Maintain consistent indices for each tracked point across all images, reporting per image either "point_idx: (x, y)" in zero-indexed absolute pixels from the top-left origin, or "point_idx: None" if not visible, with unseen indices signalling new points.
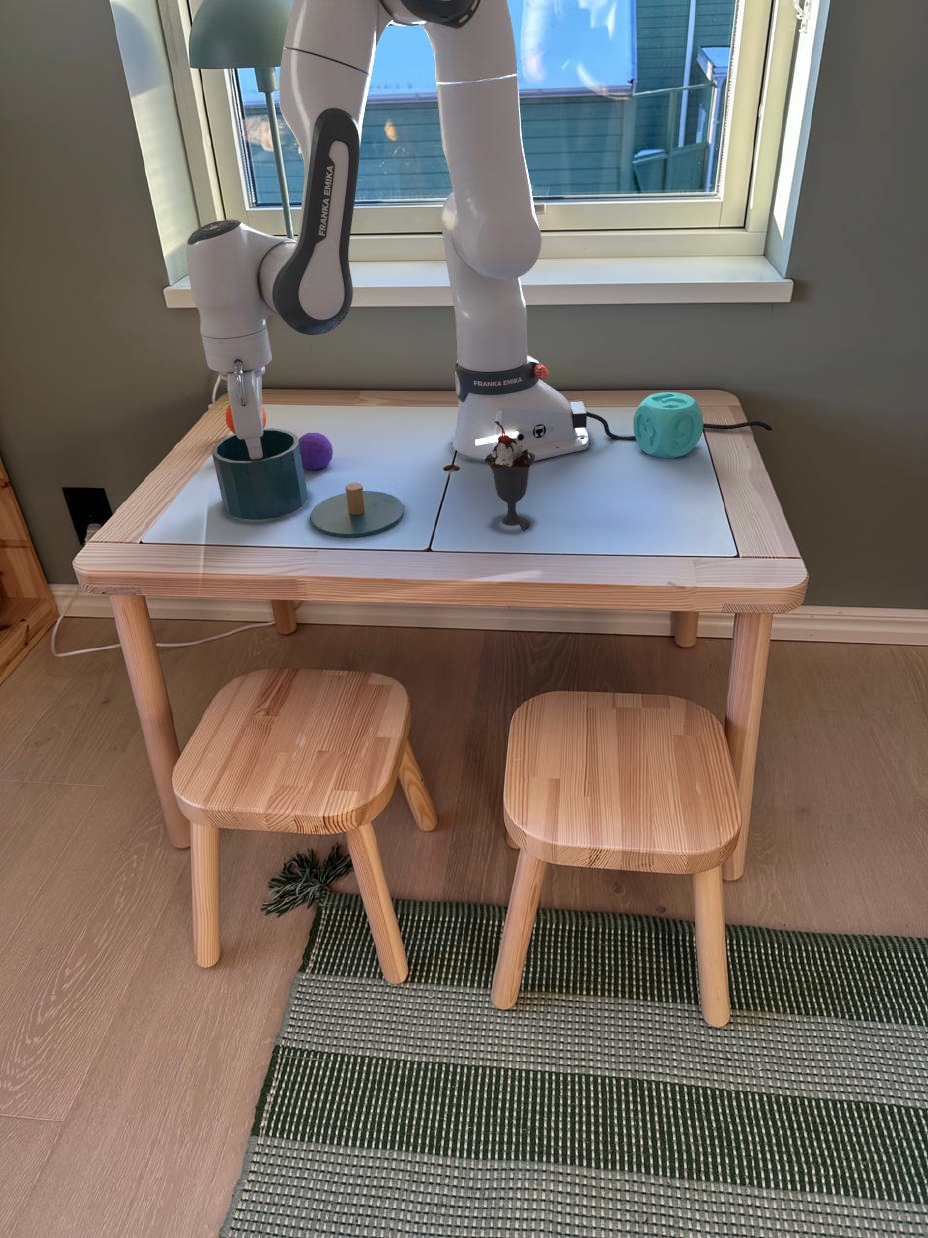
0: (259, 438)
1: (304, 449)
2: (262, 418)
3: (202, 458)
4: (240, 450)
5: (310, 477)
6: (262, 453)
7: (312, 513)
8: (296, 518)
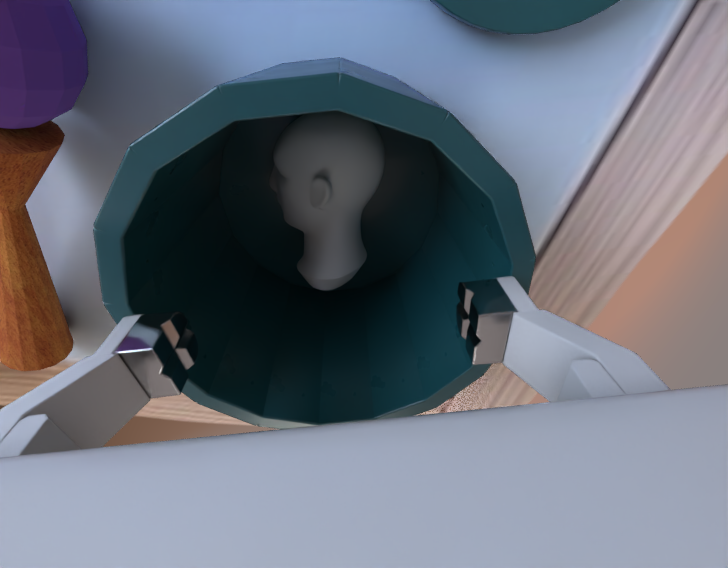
0: (624, 350)
1: (31, 72)
2: (691, 446)
3: (61, 370)
4: (220, 337)
5: (128, 55)
6: (490, 280)
7: (505, 26)
8: (452, 96)
